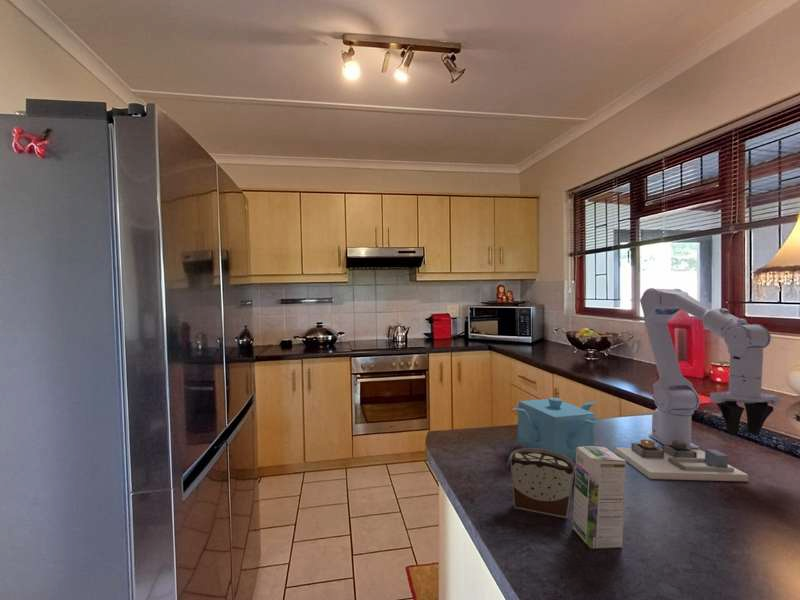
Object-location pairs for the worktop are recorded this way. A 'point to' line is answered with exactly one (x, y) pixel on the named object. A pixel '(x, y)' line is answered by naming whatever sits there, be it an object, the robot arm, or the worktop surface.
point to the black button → (679, 445)
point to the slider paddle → (716, 458)
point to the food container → (541, 481)
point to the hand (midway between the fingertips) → (742, 433)
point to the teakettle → (555, 426)
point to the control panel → (677, 464)
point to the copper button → (647, 445)
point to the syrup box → (599, 497)
